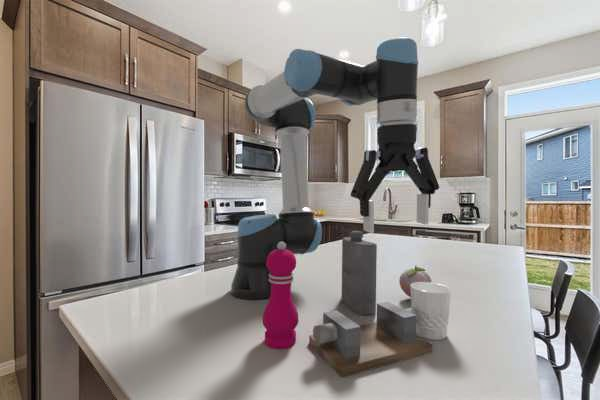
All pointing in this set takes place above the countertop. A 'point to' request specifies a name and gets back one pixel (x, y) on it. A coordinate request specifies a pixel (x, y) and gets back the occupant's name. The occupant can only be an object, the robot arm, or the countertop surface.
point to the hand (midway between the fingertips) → (396, 227)
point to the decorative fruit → (412, 278)
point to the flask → (359, 273)
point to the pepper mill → (280, 300)
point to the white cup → (431, 309)
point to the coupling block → (368, 339)
